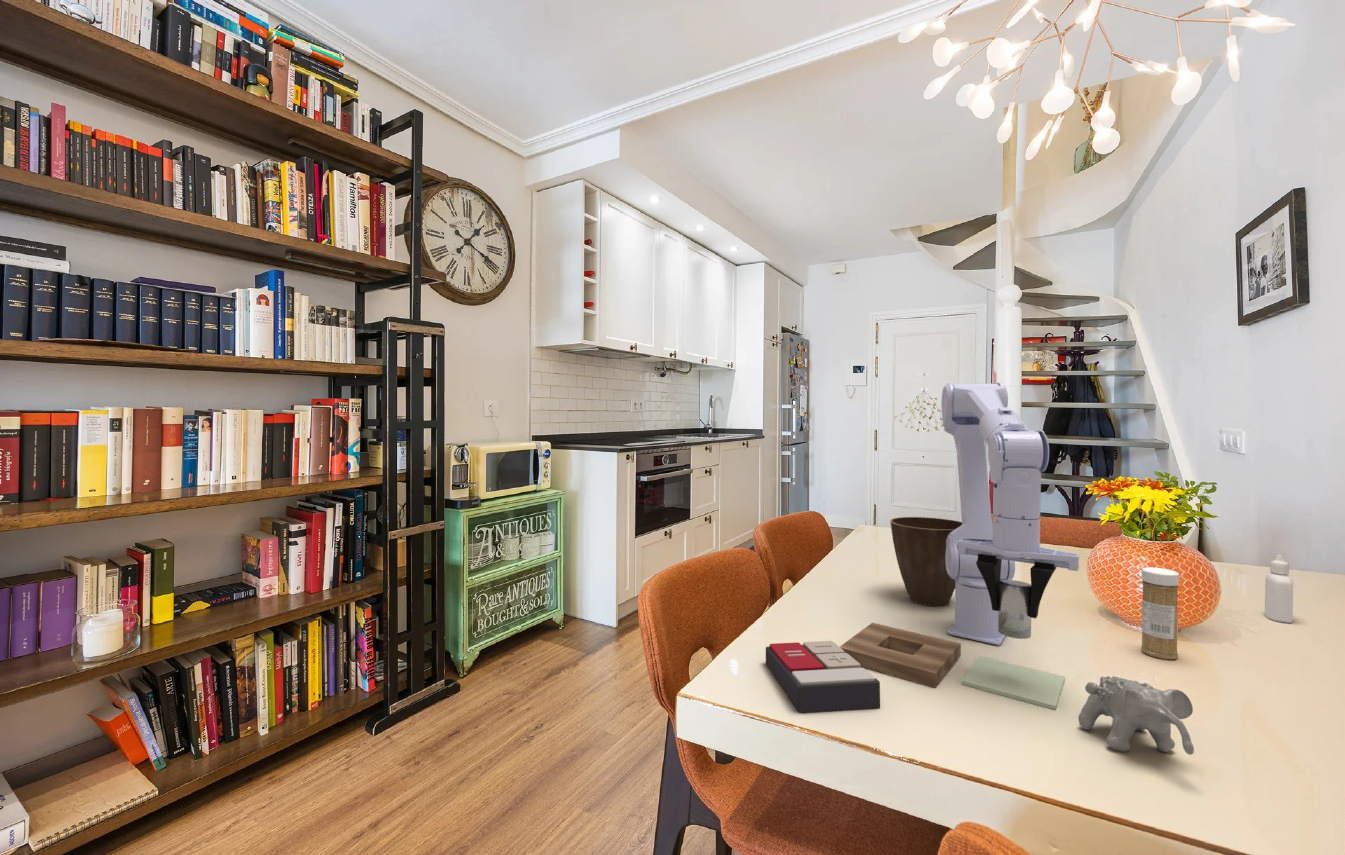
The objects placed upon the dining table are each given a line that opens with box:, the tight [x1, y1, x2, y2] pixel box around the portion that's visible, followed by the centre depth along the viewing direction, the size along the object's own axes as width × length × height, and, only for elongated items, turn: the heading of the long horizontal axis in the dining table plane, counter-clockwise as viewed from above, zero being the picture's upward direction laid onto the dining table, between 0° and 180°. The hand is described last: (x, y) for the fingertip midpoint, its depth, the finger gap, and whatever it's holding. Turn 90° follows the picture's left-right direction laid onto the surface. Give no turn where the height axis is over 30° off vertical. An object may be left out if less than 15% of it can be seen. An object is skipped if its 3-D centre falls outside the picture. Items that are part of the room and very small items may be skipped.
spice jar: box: [1140, 566, 1180, 660], centre depth 91 cm, size 5×5×14 cm
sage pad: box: [961, 655, 1066, 711], centre depth 81 cm, size 11×11×1 cm
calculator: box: [765, 640, 881, 715], centre depth 80 cm, size 11×4×15 cm
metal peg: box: [998, 579, 1032, 640], centre depth 81 cm, size 4×4×7 cm
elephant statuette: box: [1077, 675, 1195, 756], centre depth 65 cm, size 9×12×8 cm
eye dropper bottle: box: [1264, 554, 1294, 624], centre depth 108 cm, size 4×6×12 cm
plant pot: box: [889, 516, 962, 607], centre depth 118 cm, size 15×15×16 cm
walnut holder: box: [839, 622, 962, 689], centre depth 89 cm, size 14×14×2 cm
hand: (1014, 612), depth 81 cm, fingers closed on metal peg, 4 cm apart
